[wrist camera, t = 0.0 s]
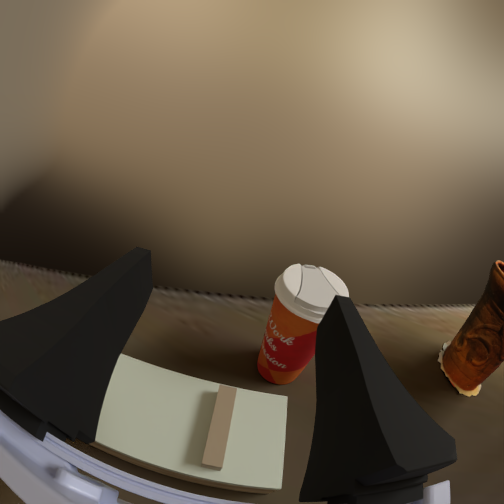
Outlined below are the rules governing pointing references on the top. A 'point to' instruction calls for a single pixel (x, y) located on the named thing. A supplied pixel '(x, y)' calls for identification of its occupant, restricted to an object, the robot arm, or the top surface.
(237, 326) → the top surface
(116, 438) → the lid
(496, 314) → the vessel
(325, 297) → the paper cup
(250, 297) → the top surface
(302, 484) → the robot arm
